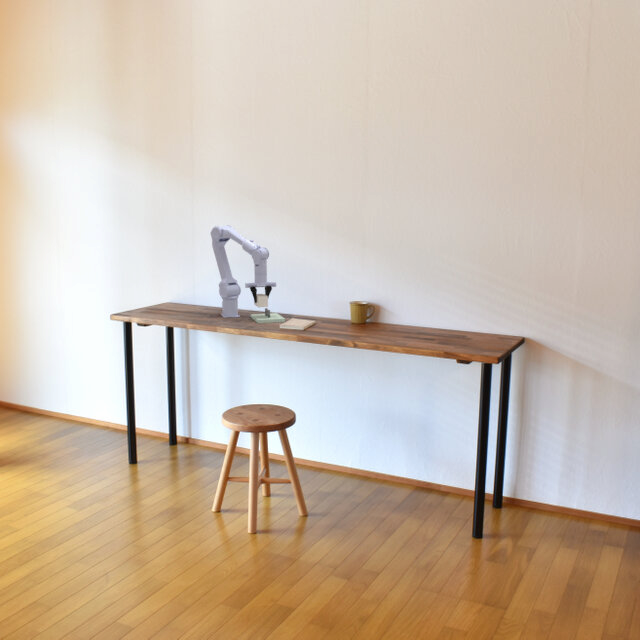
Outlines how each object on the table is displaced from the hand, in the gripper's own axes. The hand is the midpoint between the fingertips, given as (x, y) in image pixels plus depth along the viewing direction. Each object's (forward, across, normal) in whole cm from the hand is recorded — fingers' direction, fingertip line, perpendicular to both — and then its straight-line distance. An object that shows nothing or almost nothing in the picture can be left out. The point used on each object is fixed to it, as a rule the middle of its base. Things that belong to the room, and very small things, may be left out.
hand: (261, 302), depth 370 cm
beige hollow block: (+2, 0, 0) cm, 2 cm away
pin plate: (+8, +3, 0) cm, 9 cm away
